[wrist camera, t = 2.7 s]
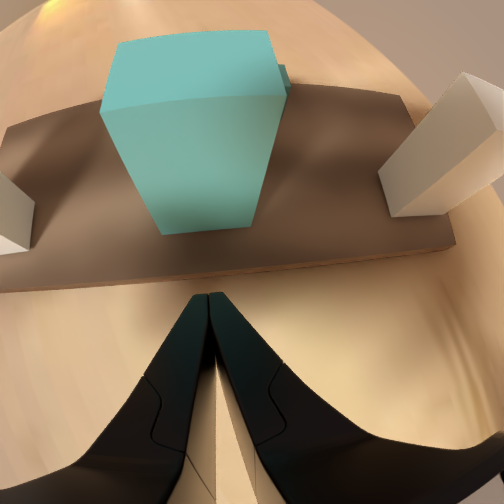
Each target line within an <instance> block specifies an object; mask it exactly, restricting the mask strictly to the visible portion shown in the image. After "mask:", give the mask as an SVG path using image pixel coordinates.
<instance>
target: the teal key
mask: <svg viewBox="0 0 504 504" xmlns="http://www.w3.org/2000/svg"><path fill="white" fill-rule="evenodd" d="M286 97H287V94H286V91H285V87H284V84H283V80H282V77H281V73H280V70H279V67H278V64H277V60H276V57H275V54H274V51H273V47H272V44H271V41H270V38H269V35H268V32H267V31H259V30H228V31H205V32H192V33H181V34H172V35H164V36H157V37H150V38H144V39H138V40H133V41H127V42H122V43H119V44H118V47H117V50H116V53H115V56H114V59H113V63H112V66H111V69H110V73H109V76H108V80H107V84H106V88H105V92H104V96H103V100H102V104H101V108H100V115H101V117H102V119H103V121H104V123H105V126H106V128H107V130H108V132H109V134H110V136H111V138H112V140H113V142H114V144H115V147H116V149H117V151H118V153H119V155H120V157H121V159H122V161H123V163H124V165H125V167H126V169H127V171H128V173H129V175H130V176H131V178H132V180H133V182H134V184H135V186H136V188H137V190H138V192H139V194H140V196H141V198H142V199H143V201H144V203H145V205H146V207H147V209H148V211H149V212H150V214H151V216H152V218H153V220H154V222H155V223H156V225H157V227H158V229H159V231H160V232H161V234H162V235H168V234H178V233H189V232H199V231H210V230H221V229H232V228H243V227H251V225H252V221H253V218H254V214H255V210H256V206H257V203H258V199H259V195H260V192H261V188H262V184H263V181H264V177H265V173H266V170H267V166H268V162H269V159H270V155H271V151H272V148H273V144H274V140H275V137H276V133H277V129H278V126H279V122H280V119H281V115H282V111H283V108H284V104H285V101H286Z"/></svg>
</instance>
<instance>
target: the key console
mask: <svg viewBox="0 0 504 504" xmlns="http://www.w3.org/2000/svg"><path fill="white" fill-rule="evenodd" d="M278 67H279V70H280V73H281V77H282V80H283V84H284V87H285V91H286V94H287V97H286V101H285V104H284V108H283V111H282V115H281V119H280V122H279V126H278V129H277V133H276V137H275V140H274V144H273V148H272V151H271V155H270V159H269V162H268V166H267V170H266V173H265V177H264V181H263V184H262V188H261V192H260V195H259V199H258V203H257V206H256V210H255V214H254V218H253V221H252V225H251V227H243V228H232V229H221V230H210V231H199V232H189V233H178V234H168V235H162V234H161V232H160V231H159V229H158V227H157V225H156V223H155V222H154V220H153V218H152V216H151V214H150V212H149V211H148V209H147V207H146V205H145V203H144V201H143V199H142V198H141V196H140V194H139V192H138V190H137V188H136V186H135V184H134V182H133V180H132V178H131V176H130V175H129V173H128V171H127V169H126V167H125V165H124V163H123V161H122V159H121V157H120V155H119V153H118V151H117V149H116V147H115V144H114V142H113V140H112V138H111V136H110V134H109V132H108V130H107V128H106V126H105V123H104V121H103V119H102V117H101V115H100V108H101V104H102V100H99V101H94V102H90V103H86V104H82V105H78V106H74V107H70V108H66V109H63V110H59V111H56V112H52V113H49V114H46V115H42V116H39V117H36V118H33V119H30V120H27V121H24V122H21V123H19V124H16V125H13V126H10V127H8V128H7V130H6V133H5V135H4V138H3V141H2V144H1V147H0V171H1V172H2V173H3V174H4V175H5V176H6V177H7V178H8V179H9V180H10V181H12V182H13V183H14V184H15V185H16V186H17V187H18V188H19V189H21V190H22V191H23V192H24V193H25V194H26V195H27V196H29V197H30V198H31V199H32V200H33V201H34V202H35V205H34V212H33V219H32V227H31V237H30V248H29V251H25V252H17V253H10V254H3V255H0V293H9V292H27V291H43V290H58V289H73V288H87V287H100V286H113V285H126V284H138V283H150V282H162V281H173V280H184V279H195V278H205V277H216V276H226V275H236V274H246V273H256V272H265V271H275V270H284V269H293V268H302V267H311V266H320V265H329V264H337V263H346V262H354V261H362V260H371V259H379V258H387V257H394V256H402V255H410V254H417V253H425V252H432V251H440V250H446V249H448V248H450V247H452V246H454V245H456V242H455V238H454V234H453V230H452V227H451V223H450V220H449V216H448V213H445V214H444V215H426V216H406V217H391V215H390V211H389V207H388V204H387V200H386V197H385V193H384V190H383V187H382V183H381V180H380V177H379V174H378V171H379V169H380V168H381V167H382V166H383V165H384V164H385V163H386V161H387V160H388V159H389V158H390V157H391V156H392V155H393V153H394V152H395V151H396V150H397V149H398V148H399V147H400V145H401V144H402V143H403V142H404V141H405V140H406V138H407V137H408V136H409V135H410V134H411V133H412V131H413V130H414V129H415V126H414V124H413V122H412V119H411V117H410V115H409V113H408V111H407V109H406V107H405V105H404V103H403V101H402V99H401V97H400V96H399V95H394V94H388V93H382V92H375V91H369V90H361V89H353V88H345V87H335V86H324V85H310V84H290V81H289V78H288V75H287V72H286V69H285V65H279V64H278Z"/></svg>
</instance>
